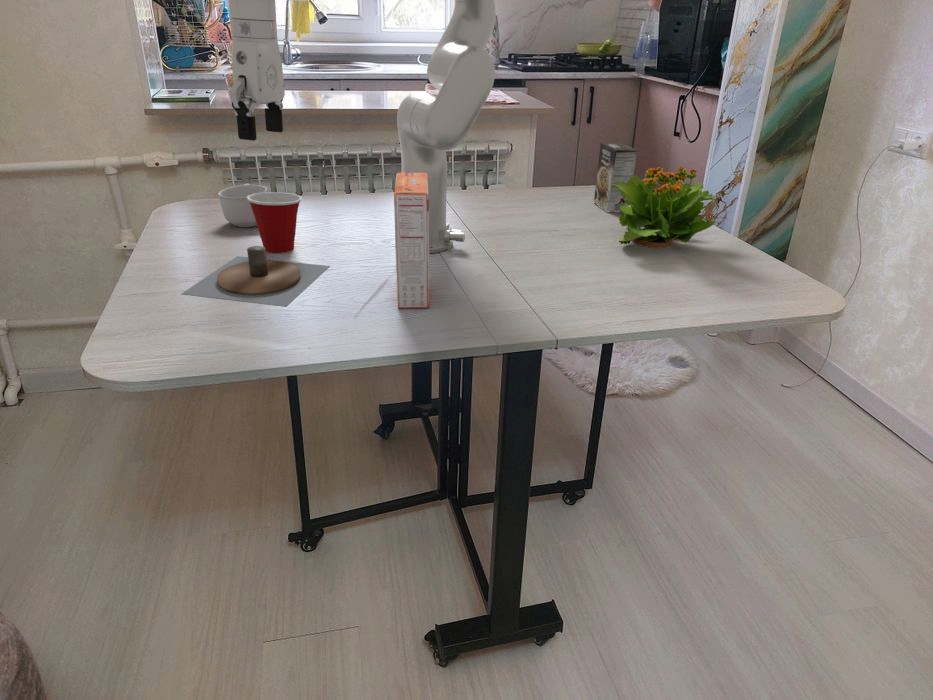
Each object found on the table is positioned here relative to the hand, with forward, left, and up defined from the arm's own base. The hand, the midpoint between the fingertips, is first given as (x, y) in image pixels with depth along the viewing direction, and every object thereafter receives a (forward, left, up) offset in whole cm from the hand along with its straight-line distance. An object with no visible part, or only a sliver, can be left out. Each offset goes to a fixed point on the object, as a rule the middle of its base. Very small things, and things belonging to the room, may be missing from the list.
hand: (261, 135), depth 122 cm
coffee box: (-65, -65, -26) cm, 95 cm away
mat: (-1, +8, -26) cm, 27 cm away
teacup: (+19, -26, -26) cm, 41 cm away
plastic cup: (+3, -9, -26) cm, 27 cm away
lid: (-1, +8, -25) cm, 26 cm away
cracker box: (-30, +5, -26) cm, 40 cm away
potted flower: (-75, -40, -26) cm, 89 cm away
